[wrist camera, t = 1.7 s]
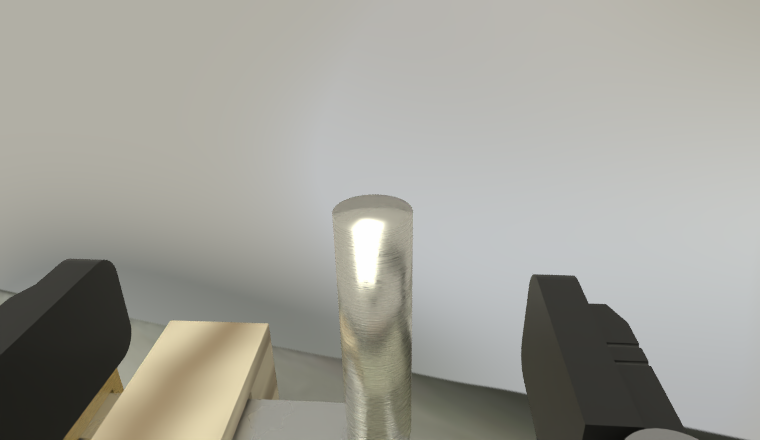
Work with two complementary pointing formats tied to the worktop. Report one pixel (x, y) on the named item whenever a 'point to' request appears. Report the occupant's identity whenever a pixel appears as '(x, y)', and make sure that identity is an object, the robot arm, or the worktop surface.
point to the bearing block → (195, 383)
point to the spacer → (95, 405)
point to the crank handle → (352, 337)
